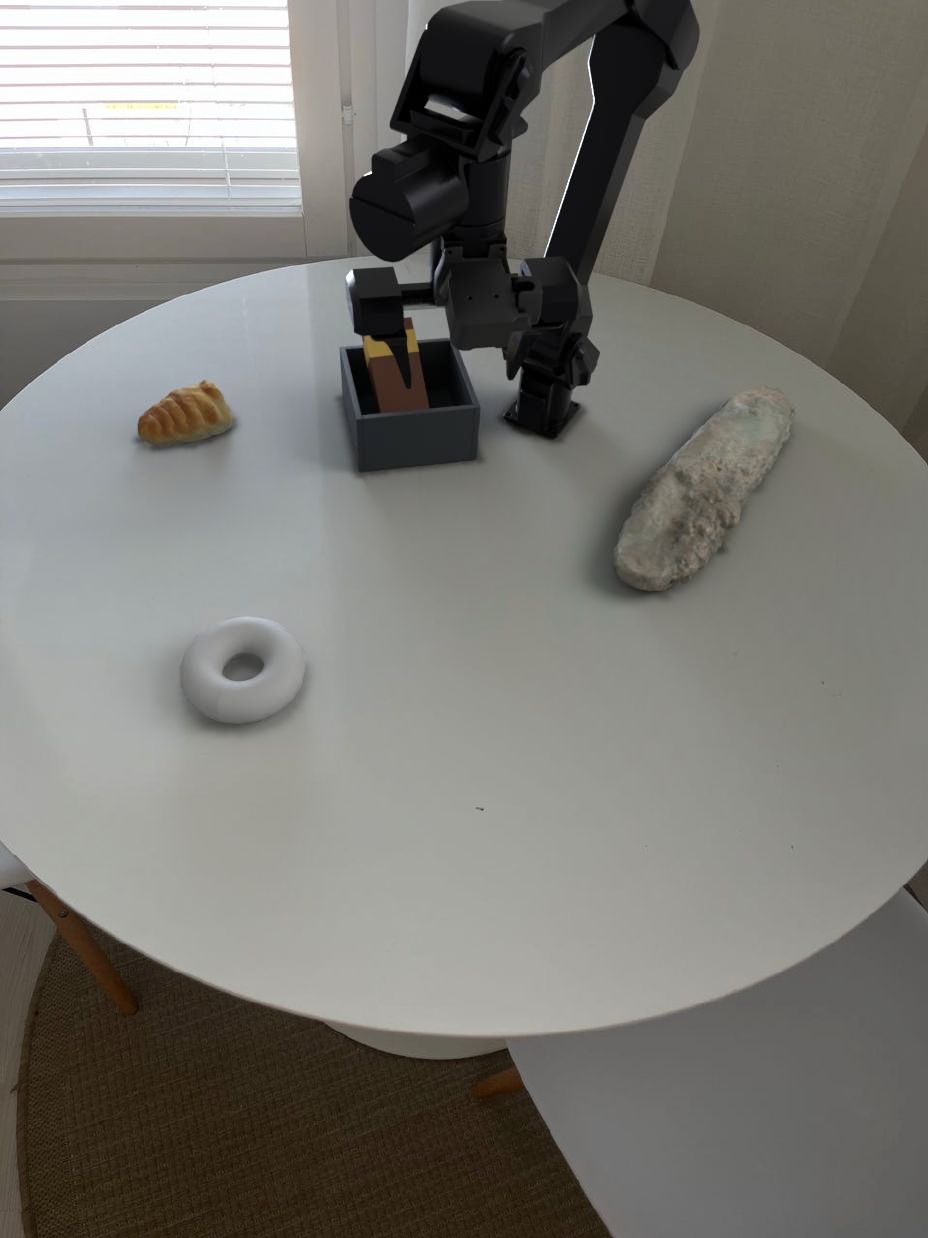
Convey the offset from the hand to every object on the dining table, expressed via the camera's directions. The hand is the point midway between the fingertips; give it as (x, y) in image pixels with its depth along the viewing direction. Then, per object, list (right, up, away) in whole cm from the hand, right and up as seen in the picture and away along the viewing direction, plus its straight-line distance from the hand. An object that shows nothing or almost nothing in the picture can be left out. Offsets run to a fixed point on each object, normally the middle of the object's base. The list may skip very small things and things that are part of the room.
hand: (459, 381), depth 80 cm
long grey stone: (+25, -8, +12) cm, 29 cm away
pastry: (-28, -1, +15) cm, 32 cm away
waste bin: (-6, -1, +16) cm, 17 cm away
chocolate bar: (-5, -3, +12) cm, 13 cm away
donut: (-18, -26, -6) cm, 32 cm away
